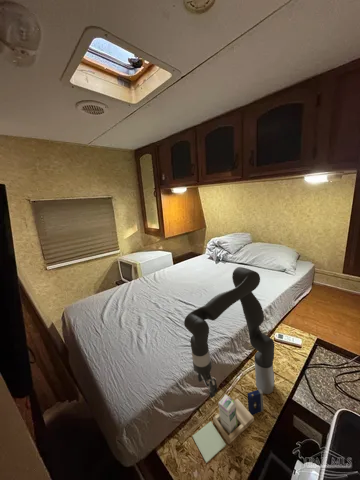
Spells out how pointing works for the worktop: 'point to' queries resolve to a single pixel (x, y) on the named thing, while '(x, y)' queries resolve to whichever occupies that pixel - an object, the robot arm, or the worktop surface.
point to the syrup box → (228, 413)
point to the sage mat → (208, 441)
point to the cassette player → (255, 401)
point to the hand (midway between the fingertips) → (206, 387)
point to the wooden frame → (242, 418)
